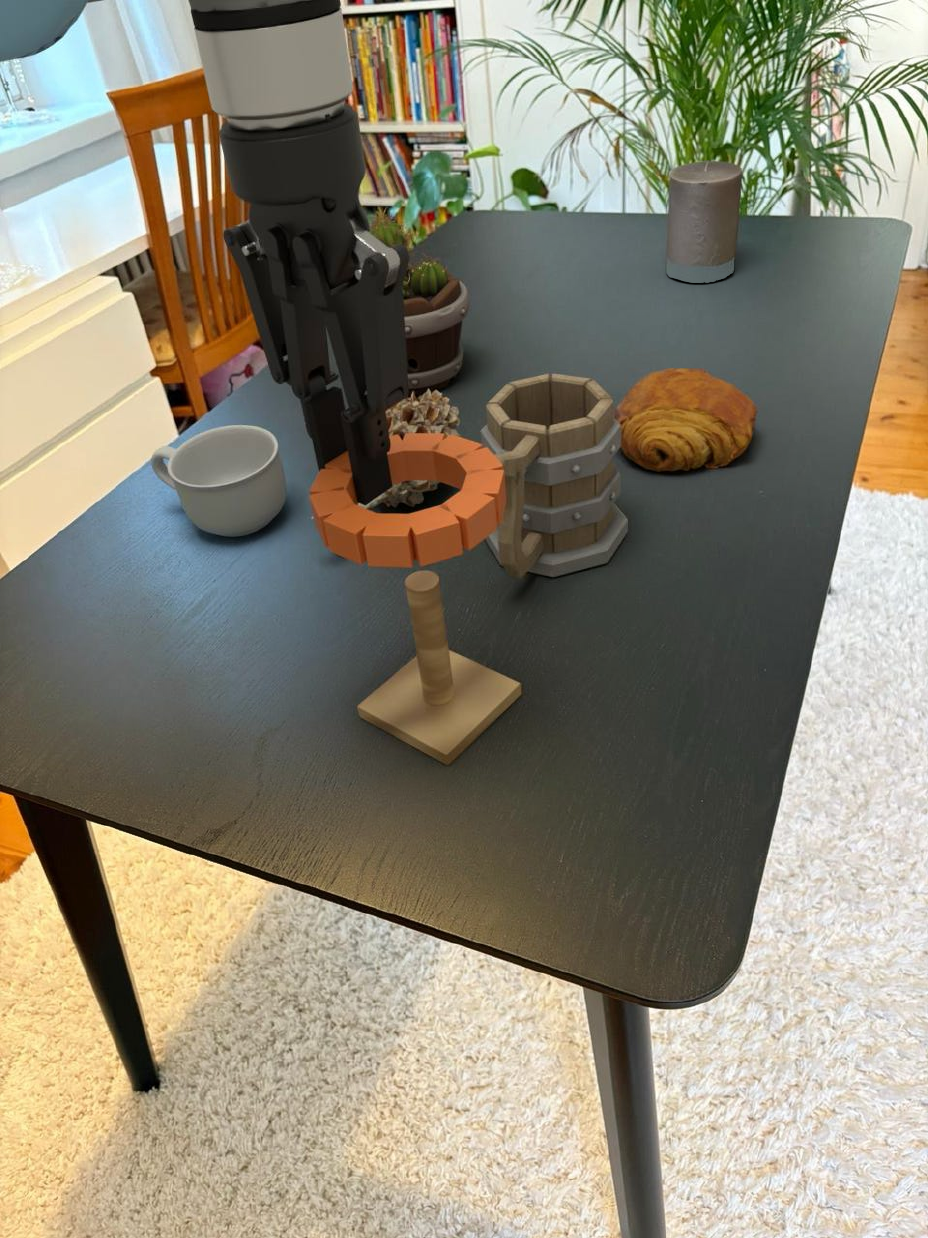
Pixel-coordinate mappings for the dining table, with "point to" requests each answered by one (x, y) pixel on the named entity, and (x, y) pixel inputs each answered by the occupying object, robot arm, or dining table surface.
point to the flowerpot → (428, 314)
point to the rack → (437, 685)
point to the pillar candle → (703, 213)
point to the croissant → (684, 421)
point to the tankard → (555, 475)
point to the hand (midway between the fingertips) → (357, 487)
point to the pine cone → (417, 418)
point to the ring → (424, 530)
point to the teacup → (226, 478)
